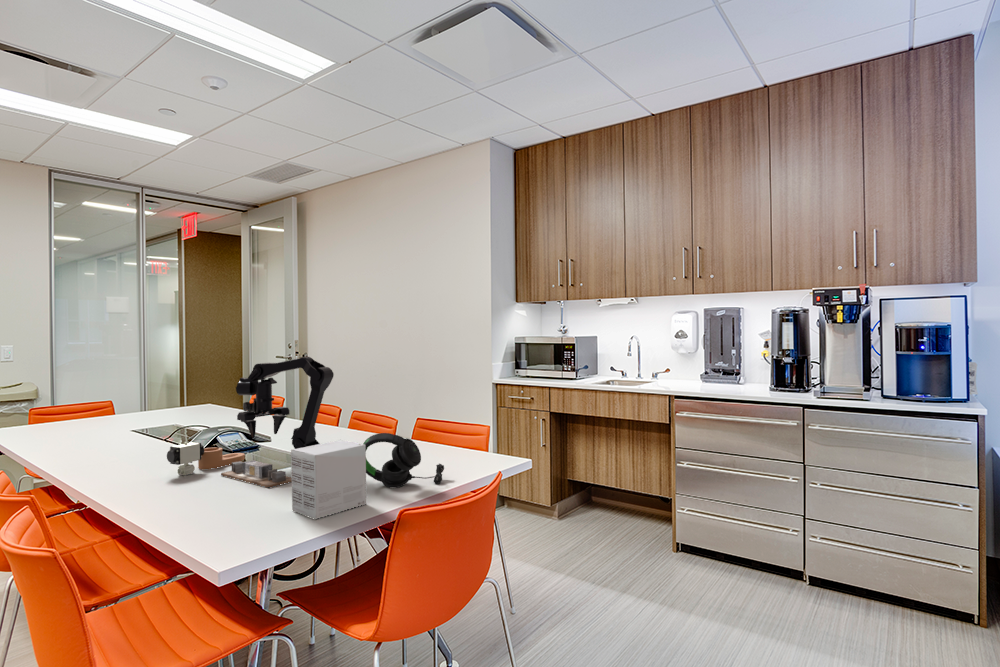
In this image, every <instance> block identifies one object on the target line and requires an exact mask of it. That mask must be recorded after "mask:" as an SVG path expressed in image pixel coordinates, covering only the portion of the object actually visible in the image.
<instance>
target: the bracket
mask: <svg viewBox="0 0 1000 667" xmlns="http://www.w3.org/2000/svg"><path fill="white" fill-rule="evenodd" d="M245 456H246V455H245V453H244V452H234V453H233V452H232V453H227V454H223V448H222V447H215V446H214V447H206V448H205V447H204V454H203V455H202V457H201V460H197V462H198V463H197V465H198V467H197V468H199V470H202V469H208V470H212V469H211V468H215V469H218V468H217V467H220V468H222V467H221V466H224V467H226V466H225V465H228V466H230V465H229V464H232V462H239V461H242V460H244V459H245ZM245 460H246V459H245Z"/></svg>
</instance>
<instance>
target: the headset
mask: <svg viewBox="0 0 1000 667" xmlns="http://www.w3.org/2000/svg"><path fill="white" fill-rule="evenodd" d="M377 443H387V444H388V443H389V444H392V445H395V446H394V447H393V449H392V451H391V457H392V458H391V459H389V460H387V461H386V462H385V463H384V464H383V465H382V467H381V470H380V469H377V468H376V467H374V466H373V465H372V464H371V463H370V462H369V461H368V459H367V458H366V475H367V476H369V477H371V478H373V480H375V481H378V482H380V483H382V485H384V486H385V487H387V488H390V487H396V488H400V487H403V486H404V485H406V484H407V483H408V482H409V481H411V480H412V479H425V480H426V479H432V478H433V483H434V484H435V485H438V484H440V483H442V480H443V474H442V473H444V471H445V470H444V469H445V465H444V464H442V463H438V464H436V465H435V466H436V470H435V473H436V474H435V475H434V476H427V477H423V476H414V475H412V473H411V472H410V471H411V470H412V469H413V468H414V467H417V466H419V465H420V464H421V462H422V455H421V452H420V449H419V447H418V445H417V444H416V443H415V442H414V441H413V440H412V439H411V438H404V437H403V436H401V435H397V434H393V433H389V432H381V433H376V434H372V435H370V436H369V437H367V438H366V440H365V441H363V443H362V444H364V445H366V451H367V450H368V448H369V447H370V446H373V445H374V444H377Z"/></svg>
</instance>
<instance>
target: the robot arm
mask: <svg viewBox="0 0 1000 667" xmlns="http://www.w3.org/2000/svg"><path fill="white" fill-rule="evenodd" d="M297 369H302V370H303V371H304V373H305V375H307V376H308V377H309V385H310V393H309V397H308V400H307V404H306V408H305V411H304V414H303V418H302V421H301V425H300V426H298V427H295V428H293V432H292V436H291V438H290V440H291V445H292V446H293V449H298V448H303V447H308V446H313V445H317V444H321V443H320V442H319V441H318V440H317V439H316V437H317V436H316V435H317V432H316V428H315V426H316V422H317V420H318V416H319V412H320V408H321V405H322V401H323V398H324V394H325V392H326V390H327V389H328V388H329V386H330V385H331V383H332V381H333V379H334V375H335V374H334V372H333V369H331V368H330V367H328V366H325V365H324V364H322V363H320V362H318V361H317V360H314V359H313V358H312V357H310V356H302V357H299V358H295V359H294V358H293V359H289V360H285V361H281V362H280V361H279V362H262V363H260V362H259V363H255V364H254V366H253V367H252V370H251V372H250V374H249V375H248V377H240V378H239V382H237V384H236V387H235V391H236V393H237V395H238V396H255V397H254V398H253V402H250V401H247V402H246V401H245V402H242V408H243V409H242V410H243V411H241V412H240V411H239V412H238V413H237V415H236V416H237V419H236V420H237V421H240V422H241V423H244V424H245V425H246V427H247V429H248V431H249V433H250V436H251V438H252V439H255V437H256V427H257V420H255V419H256V418H259V417H267V416H268V417H269V416H271V417H272V420H273V434H274V435H277V434H278V432H279V429H280V427H281V425H282V423H283V422H284V420H285V419H286V418H287V416H288V415H289V416H290V414H291V413H290V409H289V407H286V406H277V407H273V402H274V401H275V397H273V387H272V385H274V384H278V382H277V380H275V379H274V378H273V377H274V376H276V375H278V374H279V373H283V372H287V371H292V370H297Z"/></svg>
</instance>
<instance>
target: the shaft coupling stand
mask: <svg viewBox="0 0 1000 667" xmlns="http://www.w3.org/2000/svg"><path fill="white" fill-rule="evenodd" d="M243 462H244V461H243ZM243 462H241V461H239V462H232V465H231V470H229V471H224V472H221V473H220V475H223V476H222V477H224V476H227V477H226V478H228V477H231V478H230V479H232V478H235V479H234V480H236V479H239V480H243V481H246V482H245V483H247V482H250V483H249V484H251V483H254V484H253V485H255V484H257V485H256V486H258V485H261V486H260V487H262V486H265V487H264V488H266V487H272V488H274V487H273V486H276V487H278V486H277V485H279V486H281V485H280V484H283V485H285V484H284V483H287V484H289V483H288V482H291V483H292V476H291V477H290V476H287V474H286V471H284V470H278V469H277V468H276V469H275V468H274V469H272V470H270V471H268V477H267V478H263V479H261V478H257V477H253V476H249V475H245V474H243V465H242V463H243ZM239 480H238V481H239ZM243 481H242V482H243Z"/></svg>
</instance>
